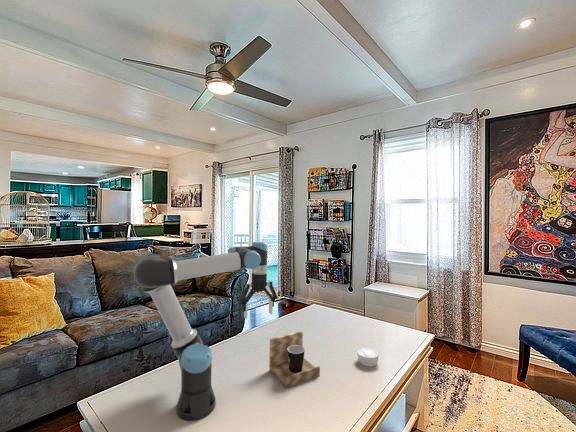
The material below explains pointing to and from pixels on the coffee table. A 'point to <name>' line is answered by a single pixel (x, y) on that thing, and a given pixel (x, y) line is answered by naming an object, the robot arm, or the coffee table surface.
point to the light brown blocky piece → (281, 364)
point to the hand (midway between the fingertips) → (258, 315)
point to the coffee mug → (295, 358)
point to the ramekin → (368, 356)
